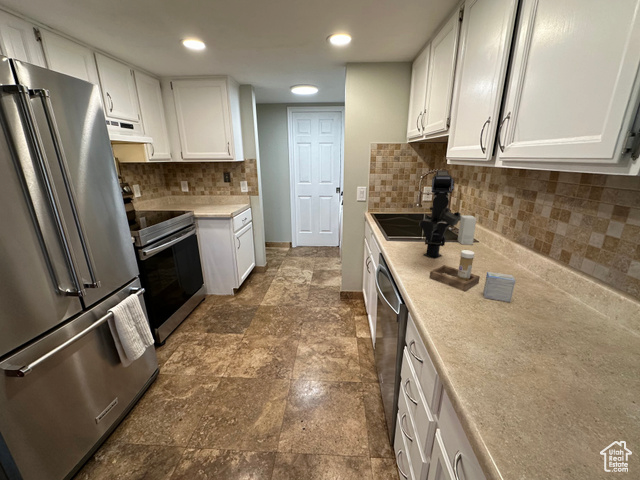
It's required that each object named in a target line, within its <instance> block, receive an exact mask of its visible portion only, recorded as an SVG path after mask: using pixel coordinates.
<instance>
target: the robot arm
mask: <svg viewBox="0 0 640 480" xmlns="http://www.w3.org/2000/svg"><path fill="white" fill-rule="evenodd" d="M454 190H455V180H454V178H453V177H452V175H451V174H449V170H437V171H436V174H435V175H433V176H432V180H431V193H432V194H433V196H432V197H433V198H432V205H431V206H429V211H431V214H430V216H428V218H424V219H422V220H420V221H419V222H418V223H419V225H418V227H420V228H421V229H422V231H423V233H424V235H425V241H424V245H427V246H426V247H427V248H426V253H425V252H424V253H423V256H425V257H428V258H433V259H438V258H440V257H442V254H441V253H440V248H441V247H444V246H445V244H446V240H447V239H446V238H447V237H446V235H445V233H446V231H447V229H448V228H449V227H450V226H451V227H453V226H456V225H458V223H459V222H460V220H461V219H460V218H461V212H458V211H456V212H450V208H449V207H448V205H449V202H450V201H449V194H453V191H454Z"/></svg>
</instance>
